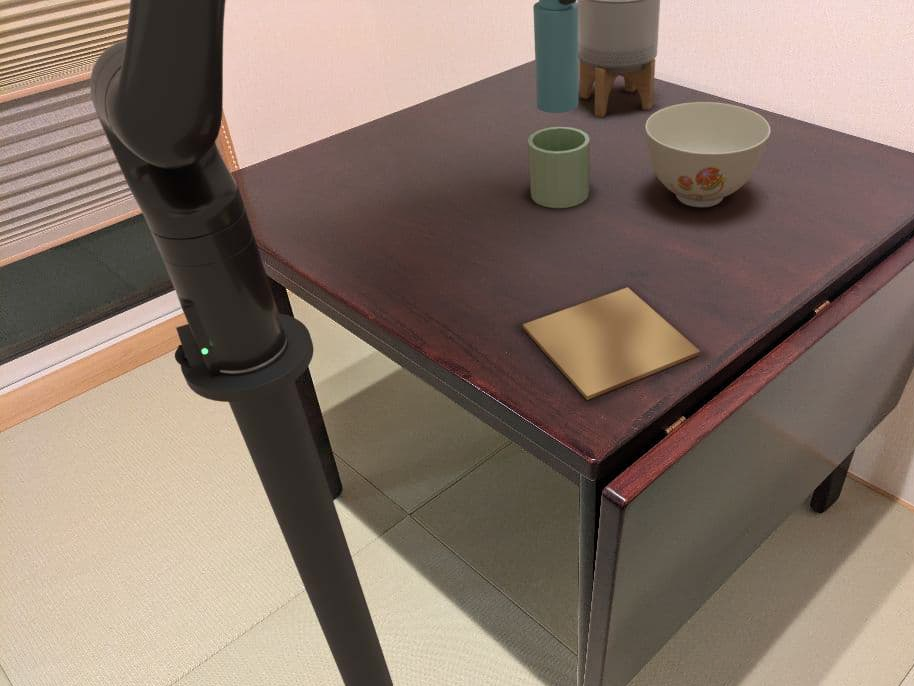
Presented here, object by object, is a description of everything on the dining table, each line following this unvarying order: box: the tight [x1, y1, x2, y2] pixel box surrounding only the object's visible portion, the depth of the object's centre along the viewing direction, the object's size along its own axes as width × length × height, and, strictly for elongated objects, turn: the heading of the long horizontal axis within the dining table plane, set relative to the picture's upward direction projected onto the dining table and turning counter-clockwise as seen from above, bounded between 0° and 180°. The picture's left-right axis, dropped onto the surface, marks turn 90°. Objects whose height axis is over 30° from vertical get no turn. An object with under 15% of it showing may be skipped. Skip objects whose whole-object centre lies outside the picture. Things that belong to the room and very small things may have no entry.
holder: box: [527, 126, 591, 209], centre depth 109 cm, size 8×8×8 cm
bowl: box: [644, 101, 772, 208], centre depth 106 cm, size 16×16×10 cm
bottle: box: [532, 0, 579, 114], centre depth 97 cm, size 5×5×18 cm
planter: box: [576, 0, 661, 118], centre depth 128 cm, size 13×13×18 cm
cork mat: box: [522, 286, 701, 401], centre depth 86 cm, size 14×14×1 cm
